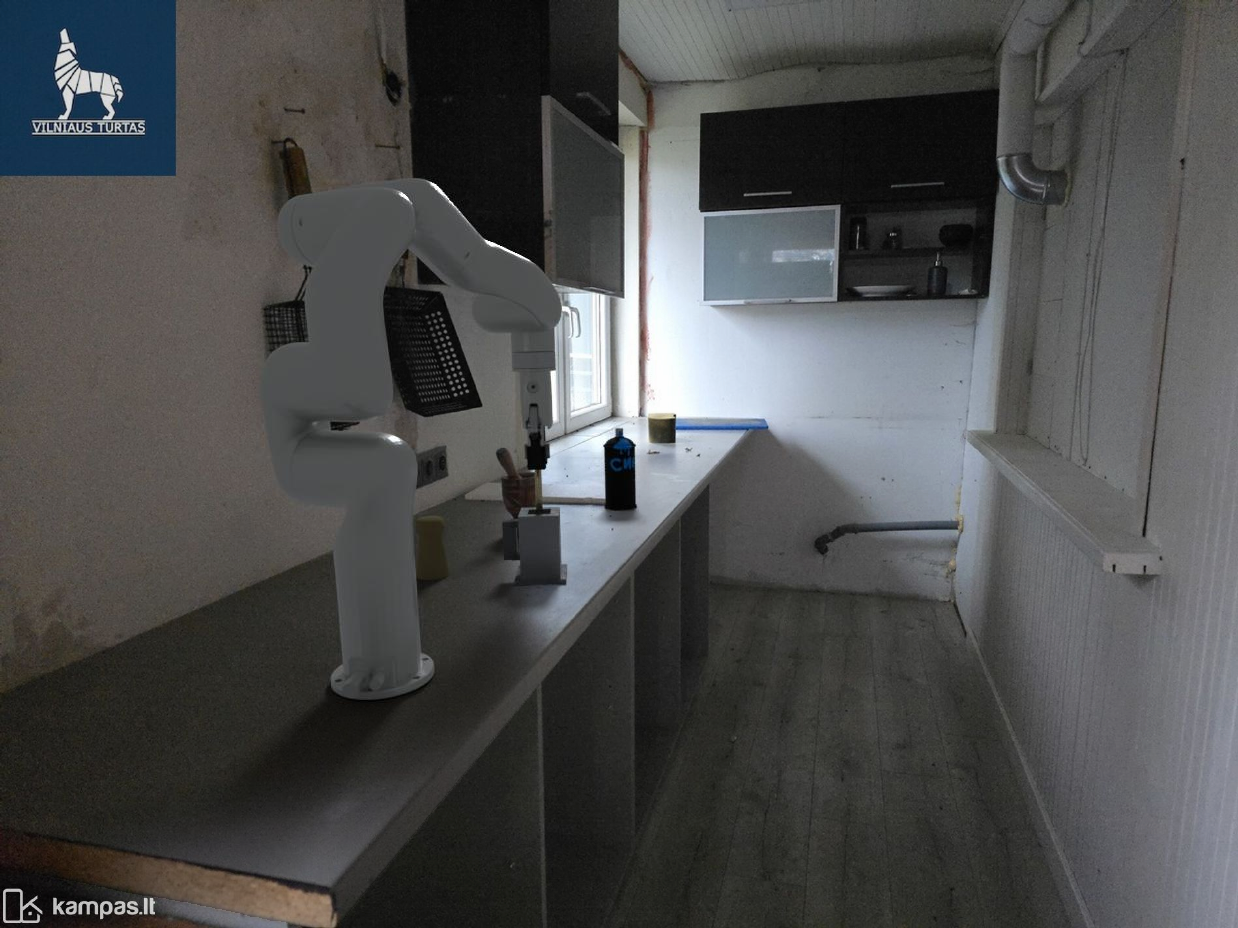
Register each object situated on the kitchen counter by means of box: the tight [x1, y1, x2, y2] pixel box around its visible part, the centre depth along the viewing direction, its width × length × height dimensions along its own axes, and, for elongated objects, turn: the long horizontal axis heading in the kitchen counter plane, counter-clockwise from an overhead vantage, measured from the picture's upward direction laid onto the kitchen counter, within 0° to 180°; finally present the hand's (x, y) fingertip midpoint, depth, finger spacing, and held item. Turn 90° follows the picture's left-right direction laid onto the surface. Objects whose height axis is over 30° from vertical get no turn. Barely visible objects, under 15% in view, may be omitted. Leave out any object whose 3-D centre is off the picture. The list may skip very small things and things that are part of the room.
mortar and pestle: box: [495, 447, 536, 538], centre depth 165 cm, size 12×9×20 cm
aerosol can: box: [602, 427, 638, 511], centre depth 190 cm, size 8×8×20 cm
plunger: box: [523, 442, 551, 514], centre depth 134 cm, size 4×4×15 cm
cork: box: [415, 515, 451, 581], centre depth 138 cm, size 6×6×11 cm
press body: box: [501, 506, 568, 586], centre depth 136 cm, size 9×11×12 cm
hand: (537, 466), depth 134 cm, fingers closed on plunger, 4 cm apart
